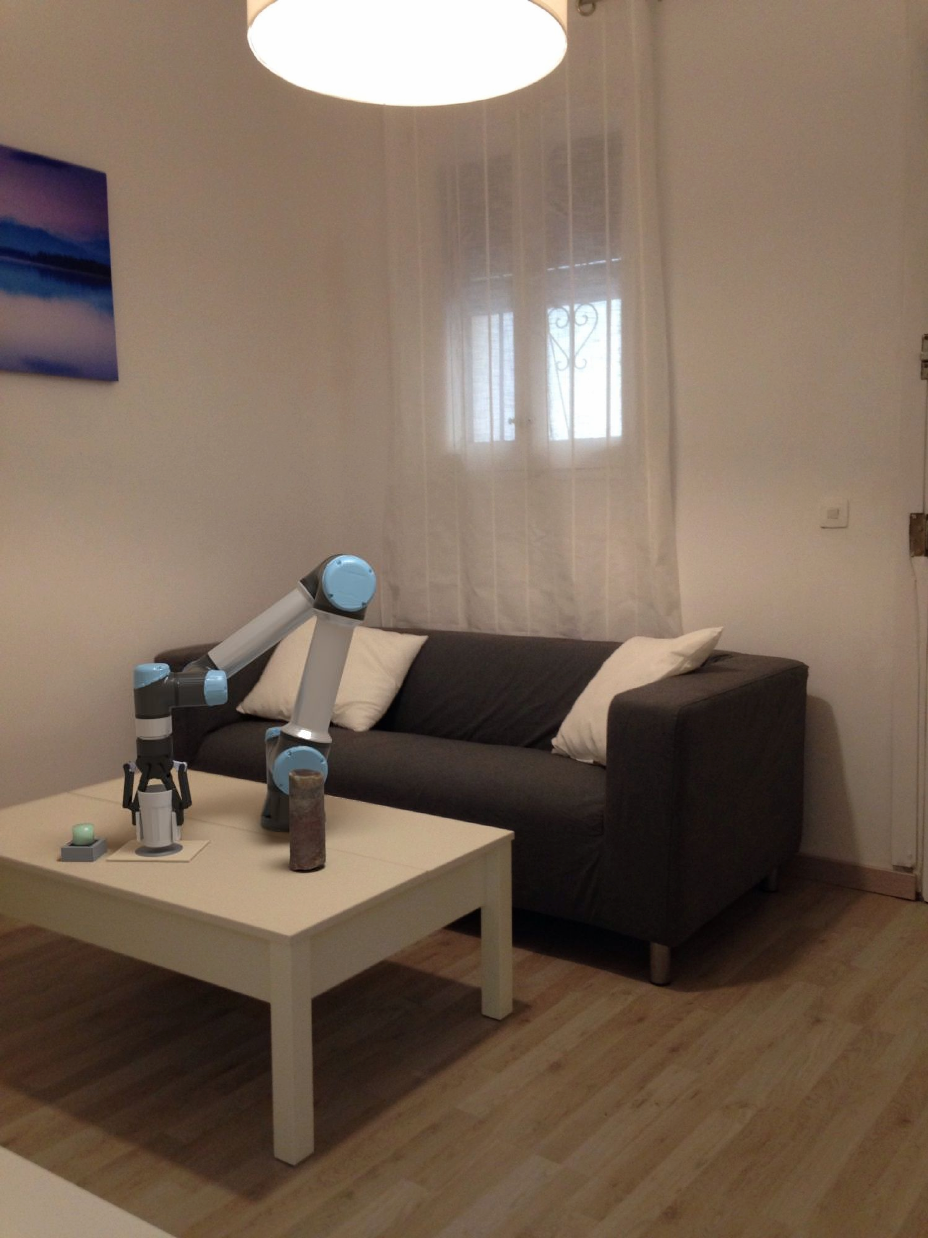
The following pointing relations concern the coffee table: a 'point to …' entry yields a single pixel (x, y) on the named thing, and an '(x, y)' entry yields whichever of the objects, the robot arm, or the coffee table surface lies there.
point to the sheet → (158, 852)
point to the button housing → (83, 851)
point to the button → (83, 834)
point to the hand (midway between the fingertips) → (158, 840)
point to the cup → (156, 815)
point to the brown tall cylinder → (306, 819)
